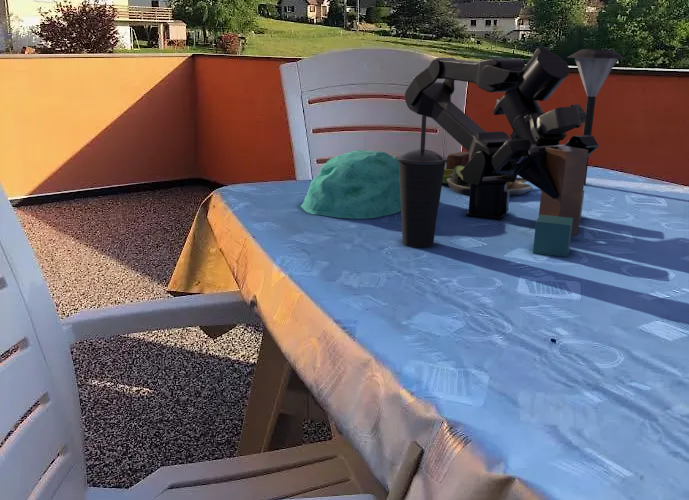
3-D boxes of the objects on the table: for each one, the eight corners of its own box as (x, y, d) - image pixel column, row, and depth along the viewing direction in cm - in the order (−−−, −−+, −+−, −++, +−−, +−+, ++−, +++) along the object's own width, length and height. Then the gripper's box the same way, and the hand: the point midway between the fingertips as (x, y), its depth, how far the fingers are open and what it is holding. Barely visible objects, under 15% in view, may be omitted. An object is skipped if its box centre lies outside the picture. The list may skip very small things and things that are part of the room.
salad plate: (514, 180, 167) (516, 160, 165) (552, 196, 150) (554, 174, 149) (437, 182, 162) (438, 162, 161) (467, 198, 146) (468, 176, 144)
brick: (460, 175, 172) (461, 156, 170) (445, 173, 174) (446, 154, 172) (476, 169, 180) (477, 151, 179) (461, 168, 182) (462, 149, 181)
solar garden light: (611, 182, 167) (628, 50, 159) (607, 191, 156) (624, 50, 148) (557, 177, 172) (571, 49, 163) (550, 185, 161) (564, 48, 153)
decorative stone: (432, 195, 148) (435, 148, 145) (379, 223, 124) (381, 167, 121) (344, 185, 157) (345, 140, 154) (278, 209, 133) (278, 156, 130)
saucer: (429, 183, 159) (430, 174, 159) (431, 177, 168) (431, 168, 167) (468, 185, 158) (469, 176, 158) (468, 179, 166) (469, 170, 166)
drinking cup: (410, 252, 107) (416, 119, 102) (384, 240, 114) (389, 114, 108) (451, 246, 111) (460, 117, 105) (424, 235, 117) (430, 112, 112)
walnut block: (556, 238, 114) (566, 151, 110) (536, 231, 117) (545, 147, 113) (577, 235, 116) (588, 149, 112) (557, 228, 120) (566, 145, 116)
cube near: (532, 253, 108) (535, 221, 107) (537, 245, 113) (540, 214, 111) (566, 257, 106) (570, 225, 105) (569, 248, 111) (573, 217, 110)
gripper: (509, 87, 109) (553, 170, 103) (597, 86, 118) (642, 163, 111) (474, 132, 118) (512, 211, 112) (557, 128, 126) (597, 201, 120)
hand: (567, 196), depth 114 cm, fingers closed on walnut block, 4 cm apart
